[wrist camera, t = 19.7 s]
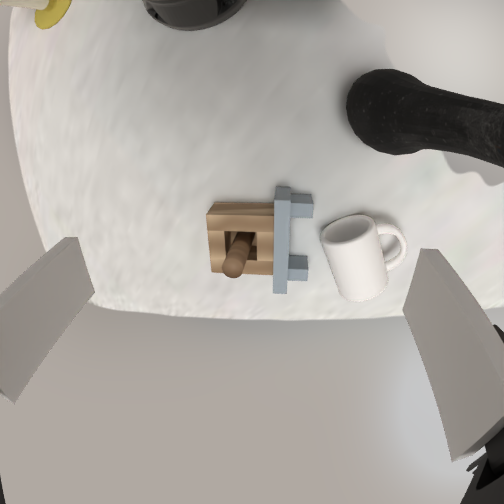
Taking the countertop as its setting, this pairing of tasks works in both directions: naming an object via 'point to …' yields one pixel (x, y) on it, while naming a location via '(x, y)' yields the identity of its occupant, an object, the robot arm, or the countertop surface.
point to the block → (242, 219)
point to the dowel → (238, 254)
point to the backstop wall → (283, 262)
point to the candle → (42, 10)
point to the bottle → (423, 117)
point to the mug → (360, 255)
